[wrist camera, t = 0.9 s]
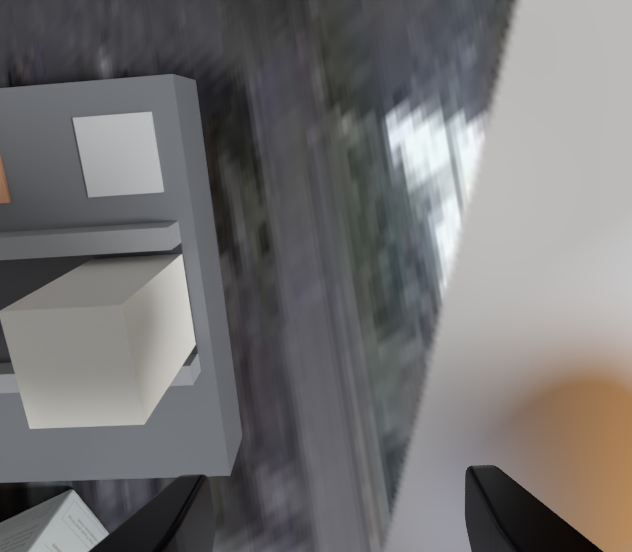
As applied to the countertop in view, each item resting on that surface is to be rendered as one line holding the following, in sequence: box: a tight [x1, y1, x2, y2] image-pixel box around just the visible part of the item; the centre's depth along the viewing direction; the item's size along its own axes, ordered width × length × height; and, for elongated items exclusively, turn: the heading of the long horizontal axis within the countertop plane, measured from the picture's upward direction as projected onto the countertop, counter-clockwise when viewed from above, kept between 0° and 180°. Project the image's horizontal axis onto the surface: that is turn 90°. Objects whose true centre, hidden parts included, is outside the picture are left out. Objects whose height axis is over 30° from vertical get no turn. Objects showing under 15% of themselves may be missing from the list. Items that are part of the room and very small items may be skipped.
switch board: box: [0, 74, 242, 483], centre depth 18 cm, size 14×9×4 cm, turn 4°
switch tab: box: [0, 254, 196, 429], centre depth 15 cm, size 3×3×5 cm
